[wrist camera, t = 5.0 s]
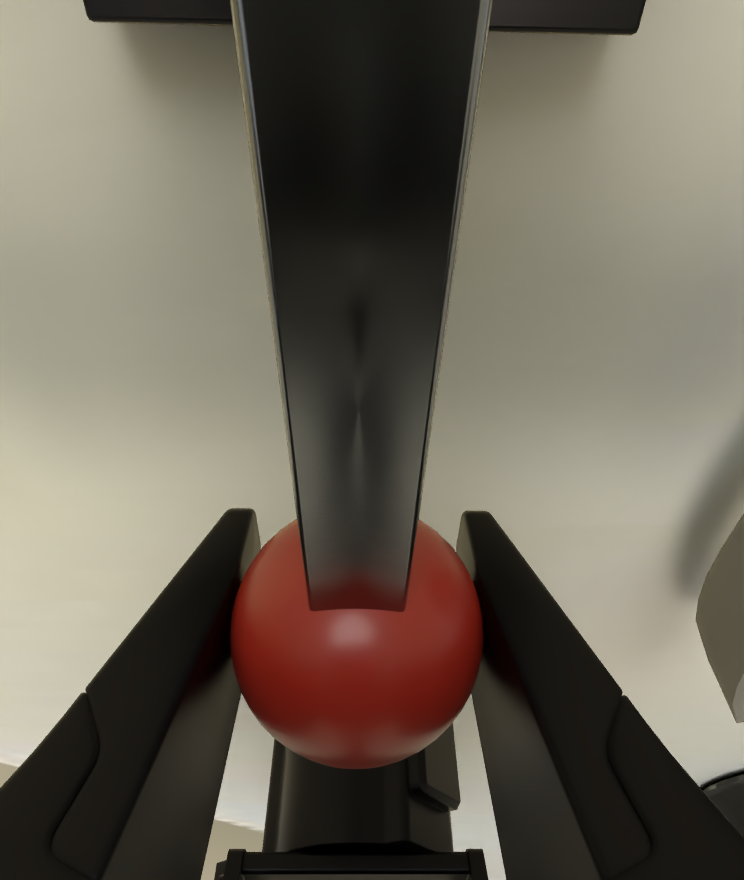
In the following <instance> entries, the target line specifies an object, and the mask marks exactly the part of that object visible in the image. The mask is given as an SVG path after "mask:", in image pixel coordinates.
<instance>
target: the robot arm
mask: <svg viewBox="0 0 744 880" xmlns="http://www.w3.org/2000/svg"><path fill="white" fill-rule="evenodd" d="M260 550H261V545H260V536H259V530H258V524H257V518H256V513H255V511H254V510H253V509H247V508H232V509H229V510H227V511H226V512H225V513H224V515H223V516H222V517H221V518H220V520H219V521H218V522H217V524H216V525H215V526H214V527H213V529H212V530H211V531H210V532H209V534H208V535H207V536H206V537H205V539H204V540H203V541H202V542H201V544H200V545H199V546H198V547H197V549H196V550H195V551H194V552H193V554H192V555H191V556H190V557H189V559H188V560H187V561H186V563H185V564H184V565H183V566H182V568H181V569H180V570H179V571H178V573H177V574H176V575H175V576H174V578H173V579H172V580H171V581H170V583H169V584H168V585H167V586H166V588H165V589H164V590H163V591H162V593H161V594H160V595H159V596H158V598H157V599H156V600H155V602H154V603H153V604H152V605H151V607H150V608H149V609H148V610H147V612H146V613H145V614H144V615H143V617H142V618H141V619H140V620H139V622H138V623H137V624H136V625H135V627H134V628H133V629H132V630H131V632H130V633H129V634H128V635H127V637H126V638H125V639H124V640H123V642H122V643H121V644H120V646H119V647H118V648H117V649H116V651H115V652H114V653H113V654H112V656H111V657H110V658H109V659H108V661H107V662H106V663H105V664H104V666H103V667H102V668H101V669H100V671H99V672H98V673H97V674H96V676H95V677H94V678H93V679H92V681H91V682H90V683H89V685H88V686H87V687H86V693H81V694H80V695H79V697H78V698H77V699H76V700H75V702H74V703H73V704H72V706H71V707H70V708H69V709H68V711H67V712H66V713H65V714H64V716H63V717H62V718H61V719H60V721H59V722H58V723H57V724H56V725H55V727H54V728H53V729H52V730H51V731H50V733H49V734H48V735H47V736H46V737H45V739H44V740H43V741H42V742H41V743H40V744H39V746H38V747H37V748H36V749H35V750H34V752H33V753H32V754H31V755H30V756H29V757H28V758H27V759H26V760H25V762H24V763H23V764H22V765H21V766H20V767H19V768H18V769H17V771H15V773H14V774H13V775H12V776H11V777H10V778H9V779H8V780H7V781H6V782H5V783H4V784H3V786H2V787H1V788H0V880H201V875H202V871H203V866H204V861H205V856H206V852H207V847H208V843H209V838H210V834H211V829H212V824H213V820H214V815H215V811H216V806H217V802H218V797H219V792H220V788H221V783H222V779H223V774H224V769H225V765H226V760H227V756H228V751H229V746H230V742H231V737H232V733H233V728H234V723H235V719H236V714H237V710H238V705H239V700H240V696H241V690H240V688H239V685H238V682H237V679H236V676H235V672H234V667H233V662H232V657H231V649H230V628H231V617H232V610H233V606H234V602H235V598H236V595H237V592H238V590H239V587H240V584H241V582H242V579H243V577H244V575H245V573H246V571H247V569H248V568H249V566H250V564H251V562H252V561H253V560H254V558H255V557H256V555H257V554H258V553H259V552H260ZM456 553H457V555H458V556H459V557H460V559H461V560H462V562H463V563H464V565H465V567H466V568H467V570H468V572H469V574H470V576H471V578H472V581H473V583H474V586H475V589H476V592H477V595H478V597H479V601H480V606H481V611H482V619H483V634H484V640H483V653H482V658H481V663H480V667H479V672H478V676H477V679H476V681H475V684H474V687H473V690H472V692H471V694H472V699H473V704H474V710H475V715H476V720H477V726H478V731H479V736H480V741H481V747H482V752H483V757H484V763H485V768H486V773H487V779H488V784H489V789H490V795H491V800H492V805H493V810H494V816H495V821H496V826H497V832H498V837H499V842H500V848H501V853H502V858H503V864H504V869H505V874H506V880H744V837H743V836H742V834H741V833H740V832H739V831H738V830H737V829H736V828H735V827H734V825H733V824H732V823H731V822H730V821H729V820H728V819H727V818H726V817H725V815H724V814H723V813H722V812H721V811H720V810H719V809H718V808H717V806H716V805H715V804H714V803H713V802H712V801H711V800H710V799H709V798H708V796H707V795H706V794H705V793H704V792H703V791H702V790H701V788H700V787H699V786H698V785H697V784H696V783H695V781H694V780H693V779H692V778H691V777H690V776H689V774H688V773H687V772H686V771H685V770H684V769H683V768H682V766H681V765H680V764H679V763H678V762H677V761H676V759H675V758H674V757H673V756H672V755H671V754H670V752H669V751H668V750H667V748H666V747H665V746H664V745H663V743H662V742H661V741H660V739H659V738H658V737H657V736H656V734H655V733H654V732H653V731H652V729H651V728H650V727H649V725H648V724H647V723H646V722H645V720H644V719H643V718H642V716H641V715H640V714H639V712H638V711H637V710H636V708H635V707H634V705H633V704H632V703H631V701H630V700H629V699H628V697H627V696H625V695H623V696H622V690H621V688H620V687H619V686H618V684H617V683H616V682H615V680H614V679H613V677H612V676H611V675H610V673H609V672H608V671H607V669H606V668H605V667H604V665H603V664H602V663H601V661H600V660H599V659H598V657H597V656H596V655H595V653H594V652H593V651H592V649H591V648H590V647H589V645H588V644H587V643H586V641H585V640H584V639H583V637H582V636H581V634H580V633H579V632H578V630H577V629H576V628H575V626H574V625H573V624H572V622H571V621H570V620H569V618H568V617H567V616H566V614H565V613H564V612H563V610H562V609H561V608H560V606H559V605H558V604H557V602H556V601H555V600H554V598H553V597H552V596H551V594H550V593H549V591H548V590H547V589H546V587H545V586H544V585H543V583H542V582H541V581H540V579H539V578H538V577H537V575H536V574H535V573H534V571H533V570H532V569H531V567H530V566H529V565H528V563H527V562H526V561H525V559H524V558H523V557H522V555H521V554H520V553H519V551H518V550H517V548H516V547H515V546H514V544H513V543H512V542H511V540H510V539H509V538H508V536H507V535H506V534H505V532H504V531H503V530H502V528H501V527H500V526H499V524H498V523H497V522H496V520H495V519H494V518H493V516H492V515H491V514H490V513H489V512H487V511H465V512H464V513H463V514H462V517H461V522H460V528H459V533H458V539H457V546H456ZM459 804H460V791H459V781H458V771H457V761H456V752H455V742H454V732H453V723H452V724H451V725H450V726H449V727H448V728H447V729H446V730H445V731H444V732H443V733H442V734H441V735H440V736H439V737H438V738H437V739H436V740H435V741H433V742H432V743H431V744H429V745H428V746H426V747H425V748H424V749H422V750H421V751H419V752H417V753H415V754H413V755H411V756H409V757H407V758H405V759H403V760H401V761H398V762H395V763H392V764H388V765H385V766H381V767H376V768H369V769H343V768H335V767H330V766H327V765H323V764H320V763H317V762H313V761H311V760H308V759H306V758H304V757H302V756H300V755H298V754H297V753H295V752H293V751H291V750H290V749H288V748H287V747H285V746H284V745H283V744H281V743H280V742H279V741H277V740H276V739H274V749H273V758H272V767H271V776H270V785H269V794H268V803H267V812H266V821H265V830H264V840H263V850H262V852H246V850H245V849H229V851H228V855H227V860H225V861H222V862H219V863H217V866H216V872H215V878H214V880H488V875H487V870H486V864H485V859H484V853H483V850H482V849H466V851H465V852H454V851H453V840H452V828H451V817H450V811H453V810H457V808H458V806H459Z"/></svg>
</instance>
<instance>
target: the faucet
mask: <svg viewBox="0 0 744 880" xmlns="http://www.w3.org/2000/svg"><path fill="white" fill-rule="evenodd" d="M696 622H697V626H698V629H699V632H700V636H701V639H702V642H703V646H704V648H705V651H706V655H707V658H708V661H709V663H710V665H711V667H712V670H713V672H714V674H715V676H716V678H717V680H718V683H719V685H720V687H721V689H722V692H723V694H724V696H725V698H726V701H727V703H728V705H729V707H730V709H731V712H732V714H733V716H734V718H735V721H736V723H741V722H744V514H743V516H742V517H741V519H740V520H739V522H738V523H737V525H736V526H735V528H734V530H733V531H732V533H731V534H730V536H729V537H728V539H727V540H726V542H725V544H724V545H723V547H722V548H721V550H720V552H719V554H718V556H717V558H716V559H715V561H714V563H713V565H712V567H711V569H710V570H709V572H708V574H707V576H706V579H705V582H704V585H703V588H702V590H701V593H700V596H699V599H698V606H697V613H696Z"/></svg>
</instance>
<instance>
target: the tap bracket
mask: <svg viewBox="0 0 744 880" xmlns="http://www.w3.org/2000/svg"><path fill="white" fill-rule="evenodd" d="M83 2H84V6H85V10H86V14H87V16H88V18H89V20H91V21H93V22H110V23H151V24H192V25H233V20H232V12H231V5H230V0H83ZM645 2H646V0H493V2H492V9H491V16H490V23H489V30H488V32H520V33H561V34H602V35H632V34H635V33H636V32H637V30H638V28H639V25H640V21H641V17H642V13H643V10H644V6H645Z"/></svg>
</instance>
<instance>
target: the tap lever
mask: <svg viewBox="0 0 744 880" xmlns="http://www.w3.org/2000/svg"><path fill="white" fill-rule="evenodd" d="M492 2H493V0H230V5H231V12H232V20H233V28H234V35H235V43H236V51H237V59H238V66H239V74H240V82H241V89H242V97H243V105H244V113H245V120H246V128H247V136H248V143H249V151H250V159H251V167H252V174H253V182H254V190H255V197H256V205H257V213H258V221H259V228H260V236H261V244H262V252H263V259H264V267H265V275H266V282H267V290H268V298H269V306H270V313H271V321H272V329H273V336H274V344H275V352H276V360H277V367H278V375H279V383H280V390H281V398H282V406H283V414H284V421H285V429H286V437H287V444H288V452H289V460H290V468H291V475H292V483H293V491H294V499H295V506H296V514H297V519H296V520H295V521H293V522H292V523H290V524H288V525H287V526H286V527H284V528H283V529H281V530H280V531H279V532H278V533H277V534H276V535H275V536H274V537H273V538H271V539H270V540H269V541H268V542H267V543H266V544H265V545H264V546H263V548H262V549H261V550H260V552H259V553H258V554H257V555H256V557H255V558H254V560H253V561H252V562H251V564H250V566H249V568H248V569H247V571H246V573H245V575H244V577H243V579H242V582H241V584H240V587H239V590H238V592H237V595H236V598H235V602H234V606H233V610H232V617H231V628H230V649H231V657H232V662H233V667H234V672H235V676H236V679H237V682H238V685H239V688H240V690H241V693H242V695H243V696H244V698H245V700H246V702H247V704H248V706H249V708H250V709H251V711H252V712H253V714H254V715H255V717H256V718H257V719H258V721H259V722H260V724H261V725H262V726H263V727H264V728H265V729H266V730H267V731H268V732H269V733H270V734H271V735H272V736H273V737H274V738H275V739H276V740H277V741H279V742H280V743H281V744H283V745H284V746H285V747H287V748H288V749H290V750H291V751H293V752H295V753H297V754H298V755H300V756H302V757H304V758H306V759H308V760H311V761H313V762H317V763H320V764H323V765H327V766H330V767H335V768H343V769H369V768H376V767H381V766H385V765H388V764H392V763H395V762H398V761H401V760H403V759H405V758H407V757H409V756H411V755H413V754H415V753H417V752H419V751H421V750H422V749H424V748H425V747H426V746H428V745H429V744H431V743H432V742H433V741H435V740H436V739H437V738H438V737H439V736H440V735H441V734H442V733H443V732H444V731H445V730H446V729H447V728H448V727H449V726H450V725H451V724H452V723H453V721H454V720H455V718H456V717H457V716H458V714H459V713H460V712H461V710H462V709H463V707H464V705H465V703H466V701H467V700H468V698H469V696H470V694H471V692H472V690H473V687H474V684H475V681H476V679H477V676H478V672H479V667H480V663H481V658H482V653H483V640H484V634H483V619H482V611H481V606H480V601H479V597H478V595H477V592H476V589H475V586H474V583H473V581H472V578H471V576H470V574H469V572H468V570H467V568H466V567H465V565H464V563H463V562H462V560H461V559H460V557H459V556H458V555H457V553H456V552H455V551H454V549H453V548H452V546H451V545H450V544H449V543H448V542H447V541H446V540H445V539H443V538H442V537H441V536H440V535H439V534H438V533H437V532H436V531H435V530H434V529H432V528H431V527H429V526H428V525H427V524H425V523H424V522H422V521H421V520H419V513H420V506H421V499H422V492H423V485H424V478H425V471H426V464H427V457H428V450H429V443H430V436H431V429H432V422H433V415H434V408H435V401H436V394H437V387H438V380H439V373H440V366H441V359H442V352H443V345H444V338H445V331H446V324H447V317H448V310H449V303H450V296H451V289H452V282H453V275H454V268H455V261H456V254H457V247H458V240H459V233H460V226H461V219H462V212H463V205H464V198H465V191H466V184H467V177H468V170H469V163H470V156H471V149H472V142H473V135H474V128H475V121H476V114H477V107H478V100H479V93H480V86H481V79H482V72H483V65H484V58H485V51H486V44H487V37H488V30H489V23H490V16H491V9H492Z"/></svg>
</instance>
